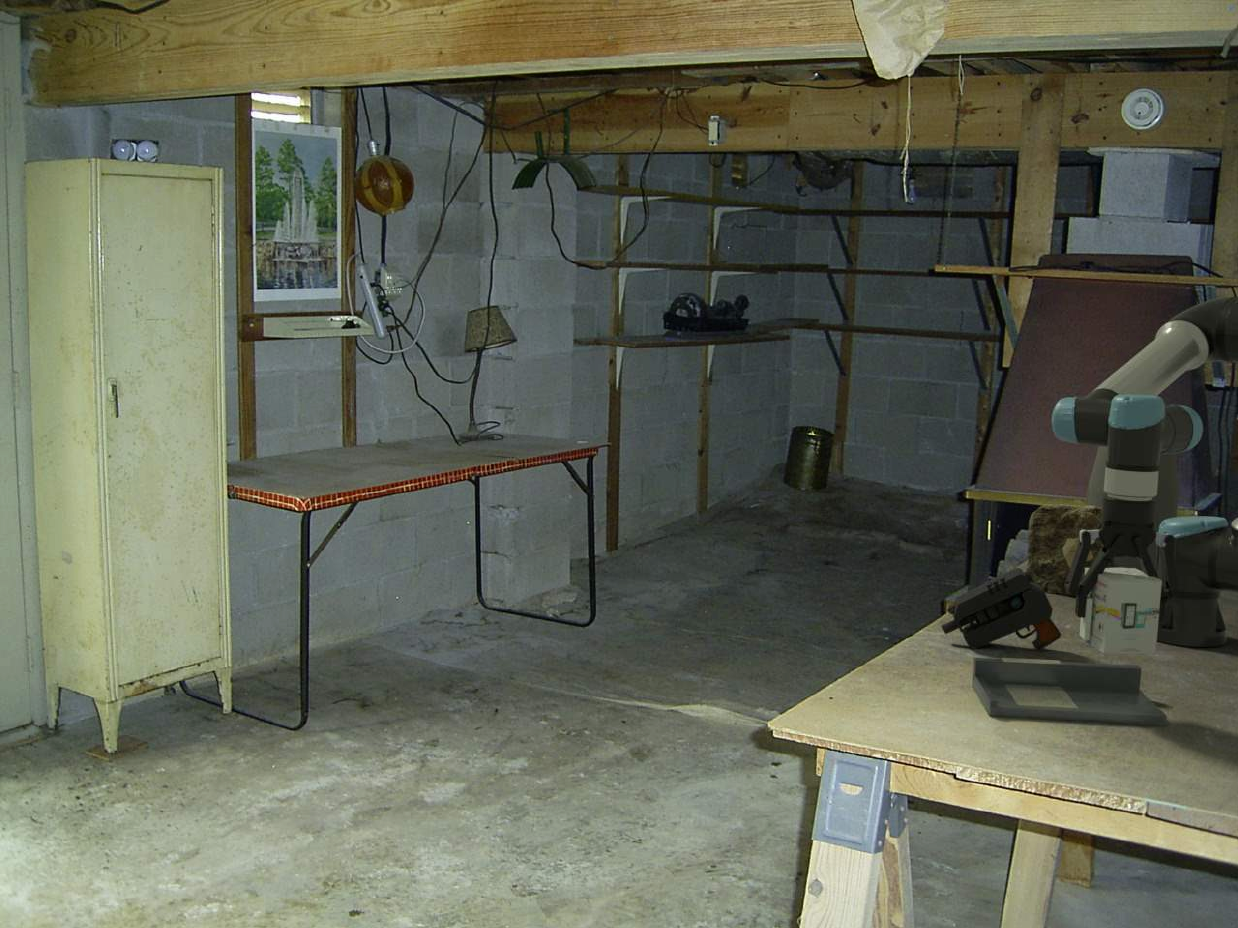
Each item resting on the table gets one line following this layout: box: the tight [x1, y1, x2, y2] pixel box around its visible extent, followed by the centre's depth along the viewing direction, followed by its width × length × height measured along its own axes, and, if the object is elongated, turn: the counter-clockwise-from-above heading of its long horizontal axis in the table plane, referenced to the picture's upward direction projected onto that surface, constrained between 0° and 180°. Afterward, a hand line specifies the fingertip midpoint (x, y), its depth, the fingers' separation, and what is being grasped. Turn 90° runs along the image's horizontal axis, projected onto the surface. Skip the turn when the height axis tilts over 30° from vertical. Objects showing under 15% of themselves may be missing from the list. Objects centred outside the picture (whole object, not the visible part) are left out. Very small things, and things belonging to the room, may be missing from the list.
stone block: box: [1025, 503, 1116, 598], centre depth 264 cm, size 18×9×20 cm, turn 68°
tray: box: [971, 657, 1168, 727], centre depth 191 cm, size 26×14×5 cm, turn 85°
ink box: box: [1078, 567, 1162, 655], centre depth 187 cm, size 9×8×12 cm
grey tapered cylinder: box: [1085, 446, 1180, 572], centre depth 289 cm, size 20×20×30 cm
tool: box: [940, 567, 1062, 653], centre depth 222 cm, size 6×19×15 cm
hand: (1117, 639), depth 188 cm, fingers closed on ink box, 9 cm apart
